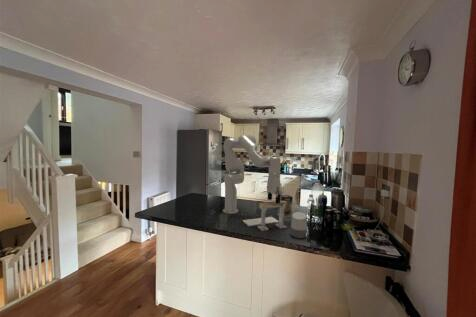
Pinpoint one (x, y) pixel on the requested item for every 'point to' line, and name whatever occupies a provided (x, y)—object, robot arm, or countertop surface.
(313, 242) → the countertop surface
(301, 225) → the smart speaker
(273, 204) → the beech rail
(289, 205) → the coffee box
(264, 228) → the metal standards
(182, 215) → the countertop surface
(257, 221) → the grey mat
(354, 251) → the countertop surface
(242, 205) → the countertop surface
